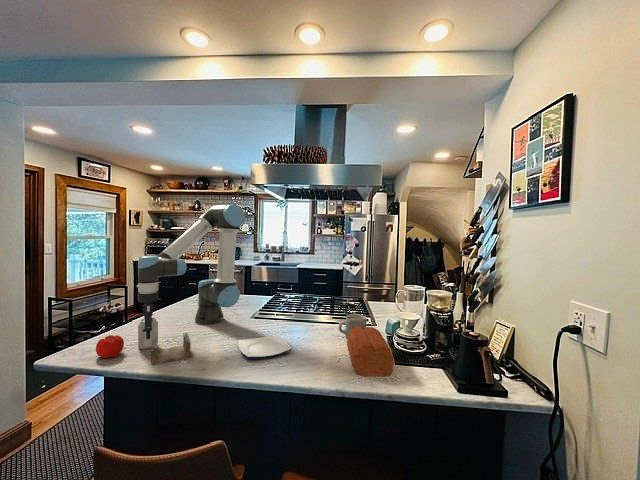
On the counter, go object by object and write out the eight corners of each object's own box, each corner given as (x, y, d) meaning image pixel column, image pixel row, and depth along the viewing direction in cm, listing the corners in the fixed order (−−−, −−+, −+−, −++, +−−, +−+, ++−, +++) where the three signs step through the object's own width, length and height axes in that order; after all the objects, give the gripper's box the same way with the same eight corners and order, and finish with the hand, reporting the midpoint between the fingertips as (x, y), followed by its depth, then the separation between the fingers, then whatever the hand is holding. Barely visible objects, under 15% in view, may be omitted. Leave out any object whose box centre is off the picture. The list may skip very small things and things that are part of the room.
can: (149, 351, 124) (149, 322, 123) (133, 349, 125) (133, 321, 125) (162, 344, 131) (162, 317, 130) (147, 342, 132) (147, 316, 132)
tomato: (103, 362, 113) (103, 343, 112) (91, 357, 117) (91, 338, 117) (129, 353, 121) (129, 335, 120) (117, 349, 125) (117, 331, 125)
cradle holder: (188, 346, 129) (188, 331, 129) (192, 357, 119) (192, 341, 118) (151, 353, 122) (151, 337, 121) (151, 365, 111) (151, 347, 111)
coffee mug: (365, 334, 149) (365, 314, 149) (366, 341, 139) (367, 320, 139) (338, 333, 150) (338, 313, 150) (338, 340, 140) (338, 319, 140)
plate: (245, 364, 114) (245, 358, 114) (235, 345, 132) (235, 339, 132) (294, 355, 123) (294, 349, 123) (278, 338, 141) (278, 333, 141)
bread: (380, 347, 133) (380, 324, 133) (395, 377, 107) (396, 348, 106) (345, 346, 133) (346, 323, 133) (352, 376, 106) (353, 347, 106)
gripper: (138, 287, 136) (138, 333, 137) (137, 298, 114) (137, 352, 115) (157, 286, 140) (156, 330, 140) (159, 297, 118) (158, 349, 119)
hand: (147, 340), depth 128 cm, fingers open, 13 cm apart
